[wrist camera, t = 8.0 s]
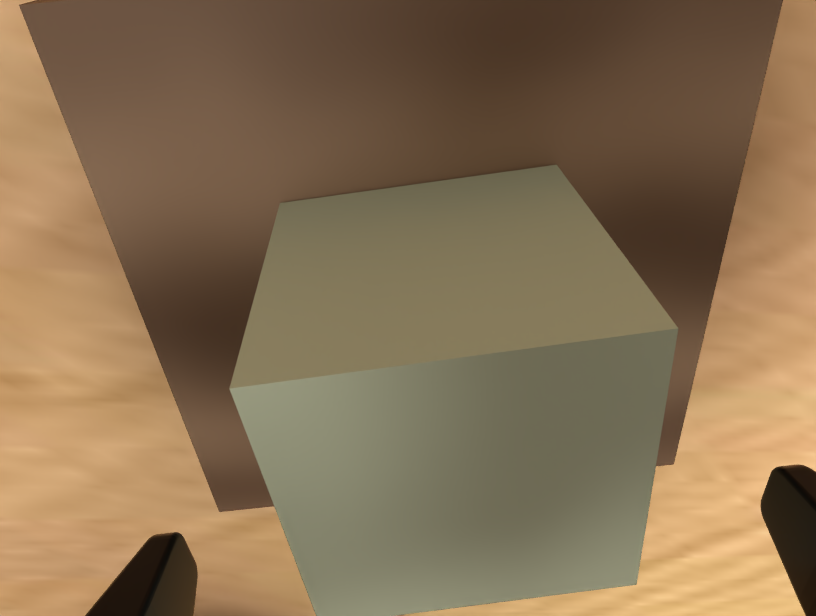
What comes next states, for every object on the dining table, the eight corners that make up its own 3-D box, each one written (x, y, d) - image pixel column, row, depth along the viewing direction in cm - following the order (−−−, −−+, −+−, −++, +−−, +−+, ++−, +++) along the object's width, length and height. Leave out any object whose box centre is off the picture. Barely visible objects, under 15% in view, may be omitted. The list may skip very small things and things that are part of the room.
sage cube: (552, 376, 16) (636, 584, 11) (332, 405, 16) (320, 624, 11) (556, 164, 13) (678, 328, 8) (279, 203, 13) (229, 389, 8)
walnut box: (626, 380, 22) (673, 464, 19) (241, 419, 22) (219, 512, 18) (696, -76, 14) (799, -73, 11) (100, -18, 14) (19, 5, 11)
